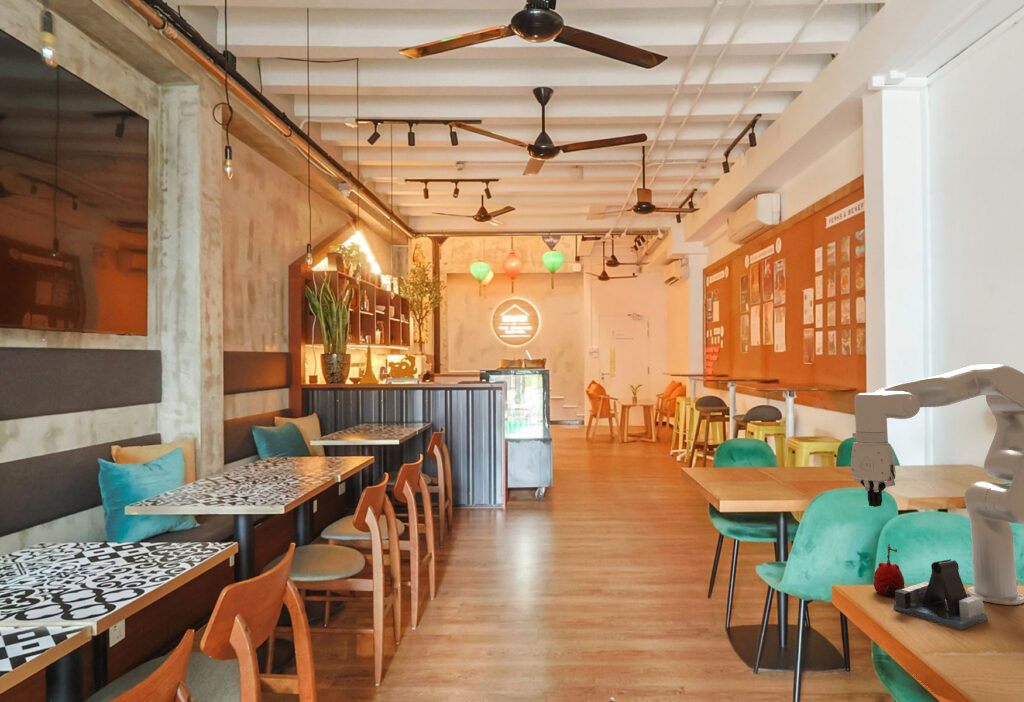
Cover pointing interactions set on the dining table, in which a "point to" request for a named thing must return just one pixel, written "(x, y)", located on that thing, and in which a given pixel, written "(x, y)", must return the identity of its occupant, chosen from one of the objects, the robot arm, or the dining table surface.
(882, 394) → the robot arm
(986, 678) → the dining table surface
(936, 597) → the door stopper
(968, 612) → the dark grey base plate
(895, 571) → the red clay folk toy
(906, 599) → the block
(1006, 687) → the dining table surface
